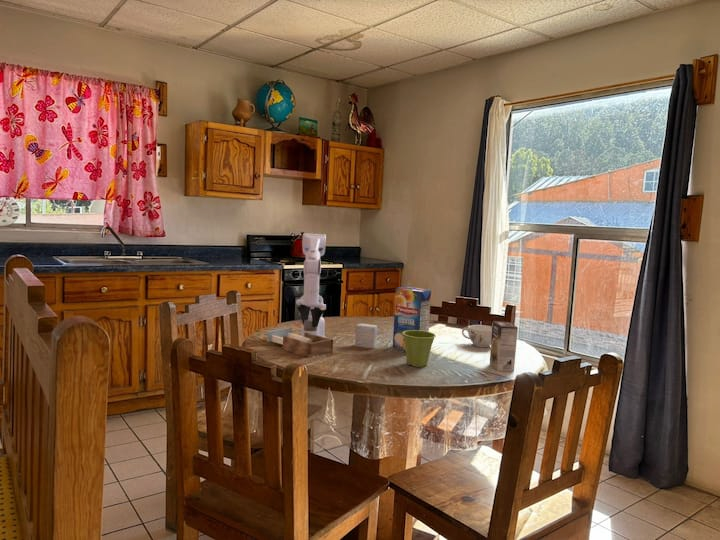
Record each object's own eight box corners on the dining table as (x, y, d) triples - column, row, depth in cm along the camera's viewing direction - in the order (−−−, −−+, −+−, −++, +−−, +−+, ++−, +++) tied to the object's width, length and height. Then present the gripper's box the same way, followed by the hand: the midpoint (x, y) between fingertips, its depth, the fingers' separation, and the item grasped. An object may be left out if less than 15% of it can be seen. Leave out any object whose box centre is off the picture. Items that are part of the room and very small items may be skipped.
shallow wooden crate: (281, 349, 209) (282, 336, 208) (304, 344, 218) (305, 332, 217) (309, 357, 199) (310, 344, 198) (332, 352, 207) (333, 339, 207)
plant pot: (410, 370, 189) (412, 338, 187) (394, 361, 199) (396, 330, 198) (440, 368, 193) (442, 336, 192) (423, 359, 204) (425, 329, 203)
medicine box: (376, 346, 220) (378, 325, 219) (373, 349, 216) (374, 327, 215) (358, 344, 223) (359, 323, 222) (354, 346, 219) (355, 325, 218)
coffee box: (488, 364, 202) (491, 320, 200) (505, 364, 202) (509, 321, 201) (496, 371, 193) (500, 326, 191) (514, 371, 193) (518, 326, 191)
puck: (311, 328, 216) (311, 319, 215) (319, 330, 212) (319, 321, 212) (301, 329, 212) (301, 320, 212) (309, 331, 208) (309, 322, 208)
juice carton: (392, 347, 220) (395, 288, 218) (402, 344, 226) (405, 286, 224) (418, 352, 213) (421, 291, 211) (427, 349, 219) (431, 290, 216)
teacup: (500, 345, 233) (501, 326, 232) (493, 351, 222) (494, 331, 221) (465, 340, 239) (466, 322, 238) (457, 345, 228) (458, 326, 227)
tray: (266, 341, 215) (267, 331, 214) (289, 337, 224) (290, 327, 223) (292, 348, 205) (292, 338, 204) (315, 344, 214) (315, 334, 213)
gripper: (290, 289, 212) (289, 323, 213) (317, 294, 203) (315, 330, 204) (304, 287, 217) (302, 321, 219) (330, 292, 208) (329, 327, 209)
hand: (310, 325), depth 212 cm, fingers closed on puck, 5 cm apart
